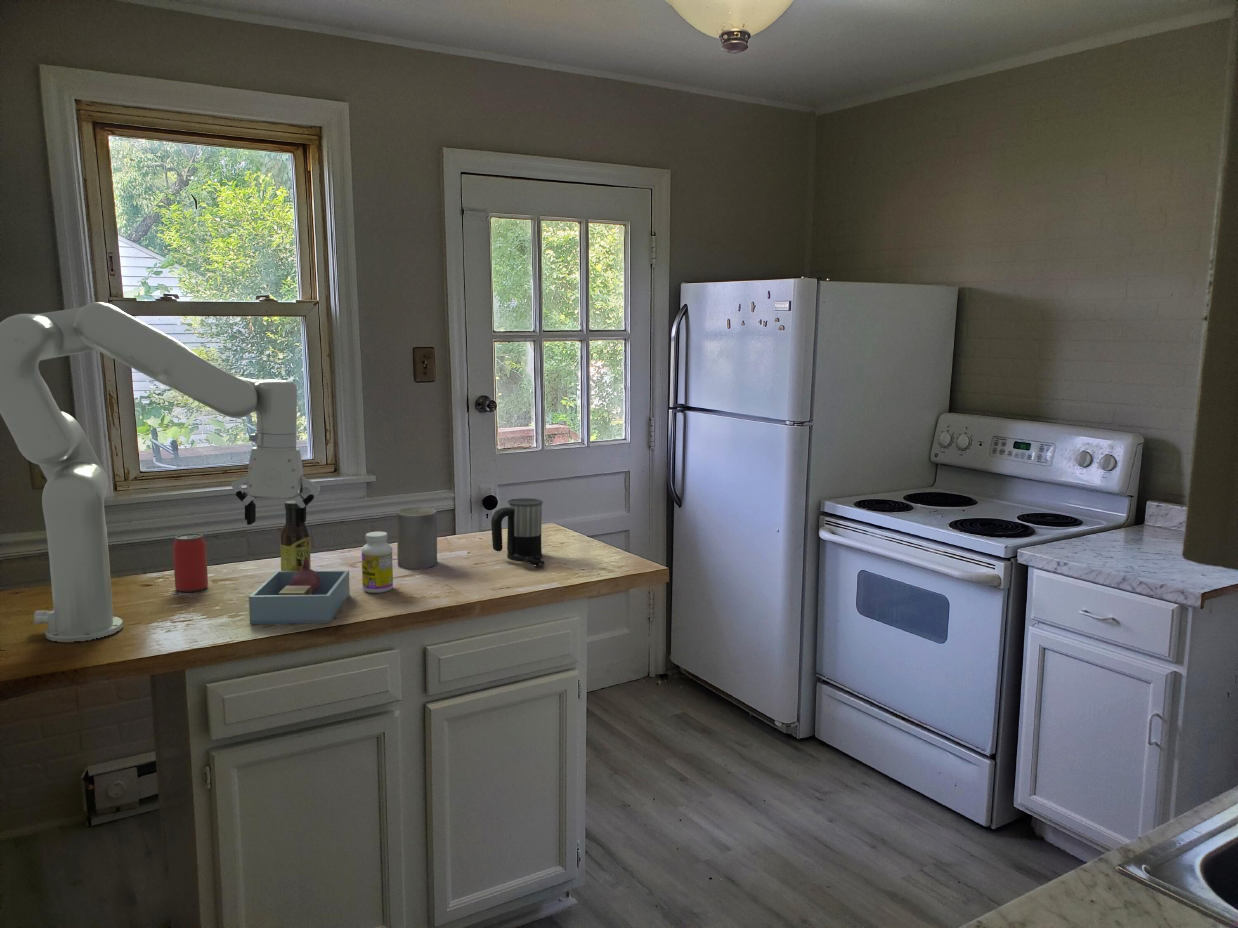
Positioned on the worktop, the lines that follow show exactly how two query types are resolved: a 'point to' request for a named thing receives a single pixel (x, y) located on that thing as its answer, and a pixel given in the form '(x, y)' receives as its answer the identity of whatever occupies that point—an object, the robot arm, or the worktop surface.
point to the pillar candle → (416, 537)
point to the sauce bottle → (293, 541)
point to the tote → (299, 600)
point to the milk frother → (520, 530)
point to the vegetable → (306, 577)
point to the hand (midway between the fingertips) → (275, 524)
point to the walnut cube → (296, 590)
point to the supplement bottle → (377, 563)
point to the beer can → (190, 562)
